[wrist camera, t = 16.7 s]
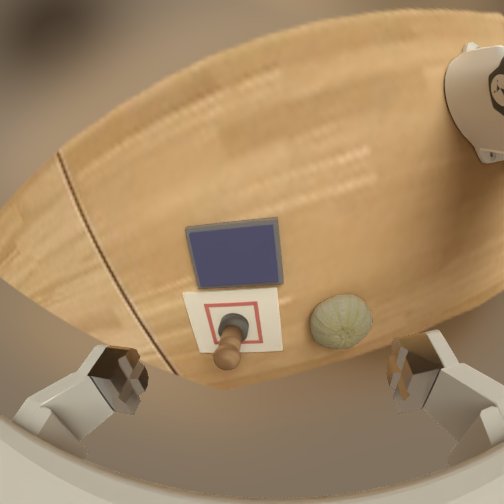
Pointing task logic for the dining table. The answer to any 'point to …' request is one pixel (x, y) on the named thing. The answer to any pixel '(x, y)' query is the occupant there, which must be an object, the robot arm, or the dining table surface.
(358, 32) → the dining table surface
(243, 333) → the stamp
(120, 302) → the dining table surface
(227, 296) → the sheet
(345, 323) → the sea urchin shell
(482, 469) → the robot arm
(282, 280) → the ink pad
